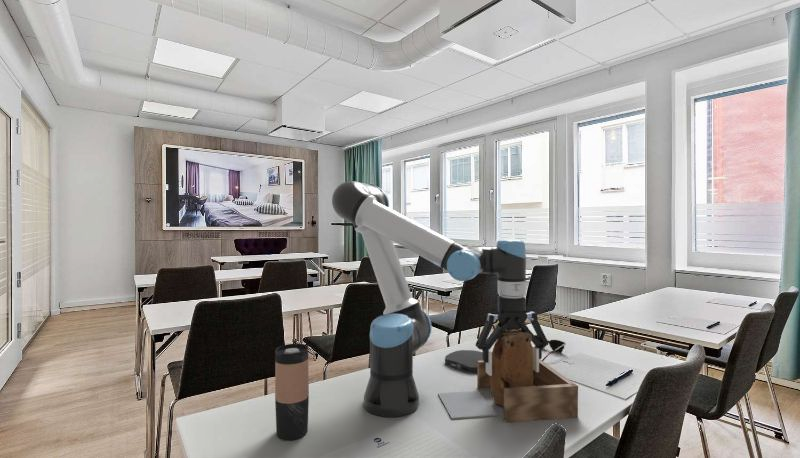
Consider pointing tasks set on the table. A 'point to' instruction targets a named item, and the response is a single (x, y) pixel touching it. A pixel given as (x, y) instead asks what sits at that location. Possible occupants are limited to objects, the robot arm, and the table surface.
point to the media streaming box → (464, 360)
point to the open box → (536, 395)
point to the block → (511, 363)
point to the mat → (466, 405)
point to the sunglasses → (554, 345)
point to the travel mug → (291, 391)
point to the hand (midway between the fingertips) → (512, 372)
